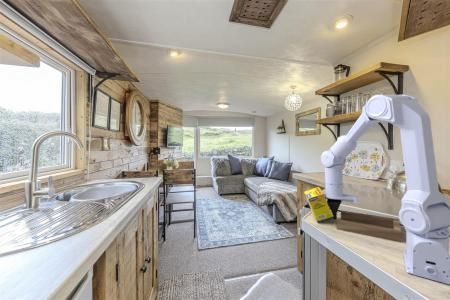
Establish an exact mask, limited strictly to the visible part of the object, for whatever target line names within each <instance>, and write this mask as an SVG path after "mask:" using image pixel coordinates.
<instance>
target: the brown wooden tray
mask: <svg viewBox="0 0 450 300" xmlns="http://www.w3.org/2000/svg"><path fill="white" fill-rule="evenodd" d="M335 223H336V230H339V231H345V232H349V233H354V234H359V235H363V236H369V237H374V238H377V239H381V240H386V241H387V240H388V241H393V242H395V243H396V242H397V243H402V230H401V225H400V223H401V222H400V219H398V218H394V217H393V218H392V217H387V216H379V215H373V214H367V213H361V212H360V213H359V212H355V211H349V210H348V211H347V210H340V219H338V218H336V220H335Z"/></svg>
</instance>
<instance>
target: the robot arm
mask: <svg viewBox="0 0 450 300" xmlns="http://www.w3.org/2000/svg"><path fill="white" fill-rule="evenodd" d="M383 122H387V123H389V124H391V125H393V126H395V127H397V128H398V129H399V131H400V140H401V149H402V150H401V151H402V158H403V166H404V175H405V176H404V177H405V182H406V191H405V194H404V195H403V196H402V198H401V200H400V202H401V208H400V209H399V212H398V218H399V222H400V223H401V224H402V226H403V227H404V230H405V234H406V235H405V240H406V241H405V242H406V244H405V246H406V247H405V248H406V251H403V252H402V253H403V259H404V267H405V271H406V274H411V275H414V276H417V277H421V278H426V279H428V280H432V281H436V282H440V283H443V284H447V285H450V232H449V231H450V202H449V197H448V196H446V195H445V194H443V193H442V192H440V188H439V181H438V172H437V165H436V156H435V148H434V140H433V132H432V121H431V118H430V114H429V113H428V112H427V111H426V110H425V108H423V107H422V106H421V105H420V104H419V102H418V98H417V97H414V96H411V95H409V94H376V95H373V96H371V97H370V98H369V99H368V100H367V102H366V104H365V105H364V106H363V107H362V110H361V114H360V115H359V117H358V118H357V119H356V121H355V123H354V124H353V125H352V126H351V128H350V130H349V131H348V132H347V133H346V135H345V134H343V135H340V136H338V137H337V139H336V141H335V143H334V144H333V145H332V146H331V147H329V149H328V150H325V151H323V152H322V154H321V155H320V163H321V165H322V166H323V167H324V183H325V184H324V186H325V187H324V188H325V191H322V192H323V193H324V195H325V198H326V201H327V203H328V206H329V208H330V211H331V213H332V216H333V219H332V220H335V221H336V220H337V219H338V216H337V215H338V212H339V211H338V210H339V208H340V206H341V204H342V202H347V203H353V204H358V202H359V199H358V196H355V195H350V194H345V193H344V186H343V182H344V180H343V170H344V166H345V164H346V162H347V157H348V156H349V155H350V154H351V153H352V152H353V151H354V150H355V149H356V148H357V146H358V142H357V141H358V140H359V139H360V138H361V137H362V136H364V135H365V134H366V132H367V131H369V130H370V129H371V128H372V127H373V126H374V125H375V124H379V123H383Z"/></svg>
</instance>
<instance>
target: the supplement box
mask: <svg viewBox="0 0 450 300" xmlns="http://www.w3.org/2000/svg"><path fill="white" fill-rule="evenodd" d="M323 192H324V191H322V189H321V188H320V187H319V186H318V187H317V186H316V187H314V188H311V189H308V190H305V191H304V195H305V198H306V199H307V202H308V205H309V208H310V210H311V212H312V215H313V217H314V219H315V221H316V222H317V224H318V223H319V224H320V223H322V222H325V221H330V220H334V219H333V215H332V212H331V209H330V207H329V206H328V203H327V199H326V198H325V195H324V193H323Z"/></svg>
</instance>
